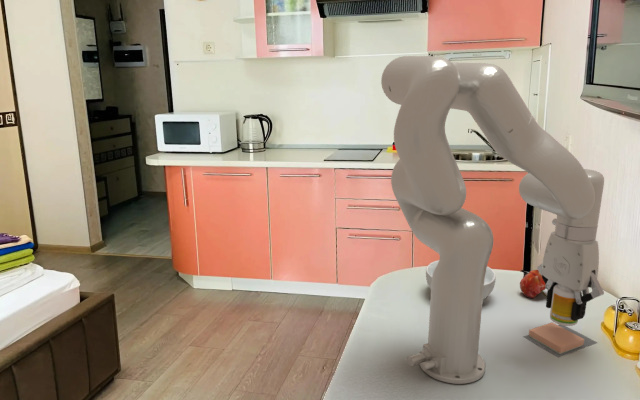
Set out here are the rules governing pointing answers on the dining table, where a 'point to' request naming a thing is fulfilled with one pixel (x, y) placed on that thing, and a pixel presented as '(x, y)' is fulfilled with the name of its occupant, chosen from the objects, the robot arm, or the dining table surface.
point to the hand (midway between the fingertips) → (564, 311)
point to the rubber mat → (586, 343)
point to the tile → (556, 338)
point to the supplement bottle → (562, 305)
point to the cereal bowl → (488, 280)
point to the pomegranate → (532, 283)
